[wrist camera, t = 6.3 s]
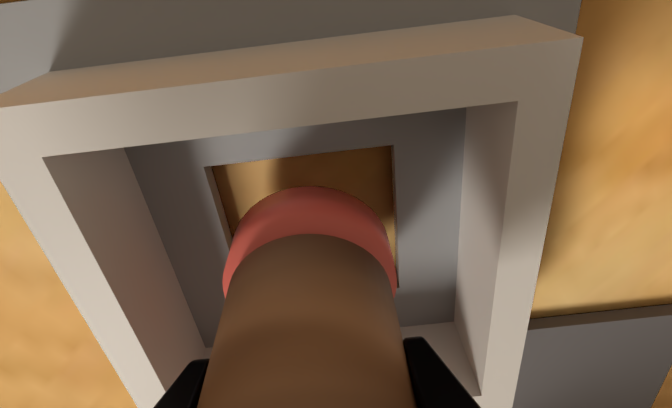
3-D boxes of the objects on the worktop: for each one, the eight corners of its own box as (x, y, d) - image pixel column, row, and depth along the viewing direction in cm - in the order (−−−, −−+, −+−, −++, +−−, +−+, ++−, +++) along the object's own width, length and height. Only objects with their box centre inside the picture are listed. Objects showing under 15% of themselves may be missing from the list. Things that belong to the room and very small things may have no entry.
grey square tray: (509, 347, 17) (552, 434, 14) (165, 383, 17) (132, 476, 14) (579, -71, 9) (703, -80, 6) (-31, 7, 10) (-188, 33, 7)
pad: (625, 435, 20) (632, 445, 20) (442, 453, 21) (445, 463, 20) (686, 302, 16) (697, 312, 15) (448, 327, 16) (452, 338, 15)
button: (391, 302, 13) (399, 338, 12) (250, 317, 13) (244, 354, 12) (385, 177, 11) (394, 205, 9) (214, 196, 11) (201, 227, 9)
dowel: (394, 345, 11) (449, 628, 7) (248, 360, 11) (198, 650, 7) (388, 224, 9) (462, 511, 4) (209, 244, 9) (98, 546, 5)
